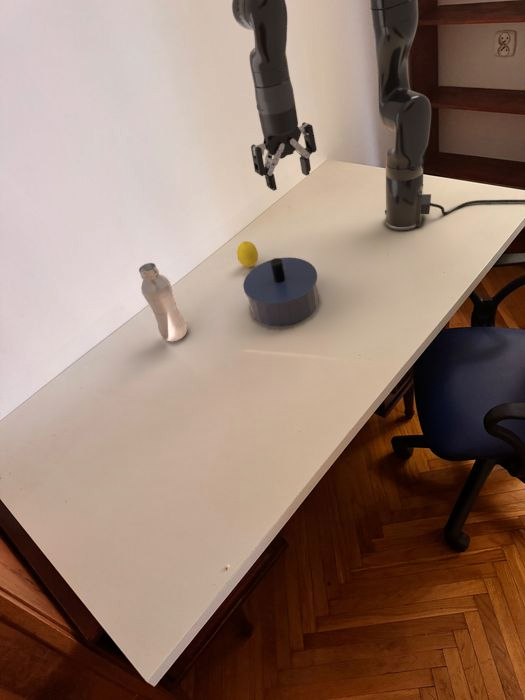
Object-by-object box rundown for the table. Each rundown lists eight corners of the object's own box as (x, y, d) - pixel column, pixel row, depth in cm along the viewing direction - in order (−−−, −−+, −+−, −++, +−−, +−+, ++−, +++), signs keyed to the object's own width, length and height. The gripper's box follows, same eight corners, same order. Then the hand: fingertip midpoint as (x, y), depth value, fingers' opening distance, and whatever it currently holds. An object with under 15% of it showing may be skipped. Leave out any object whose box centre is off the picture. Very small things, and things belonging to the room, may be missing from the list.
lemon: (264, 262, 129) (258, 237, 124) (253, 274, 126) (247, 249, 121) (247, 259, 132) (241, 234, 126) (236, 271, 129) (229, 246, 123)
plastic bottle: (160, 333, 116) (129, 266, 102) (186, 322, 117) (158, 255, 103) (166, 348, 112) (134, 281, 98) (193, 337, 113) (165, 269, 99)
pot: (324, 285, 117) (321, 261, 112) (309, 330, 107) (305, 305, 102) (263, 283, 122) (257, 260, 117) (243, 325, 112) (236, 302, 107)
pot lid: (324, 262, 113) (321, 239, 108) (307, 309, 102) (304, 287, 97) (257, 260, 118) (252, 239, 114) (234, 305, 107) (227, 284, 103)
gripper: (253, 122, 90) (270, 200, 101) (316, 96, 93) (325, 174, 104) (236, 114, 95) (254, 189, 106) (296, 89, 98) (307, 164, 109)
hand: (289, 181), depth 105 cm, fingers open, 8 cm apart
